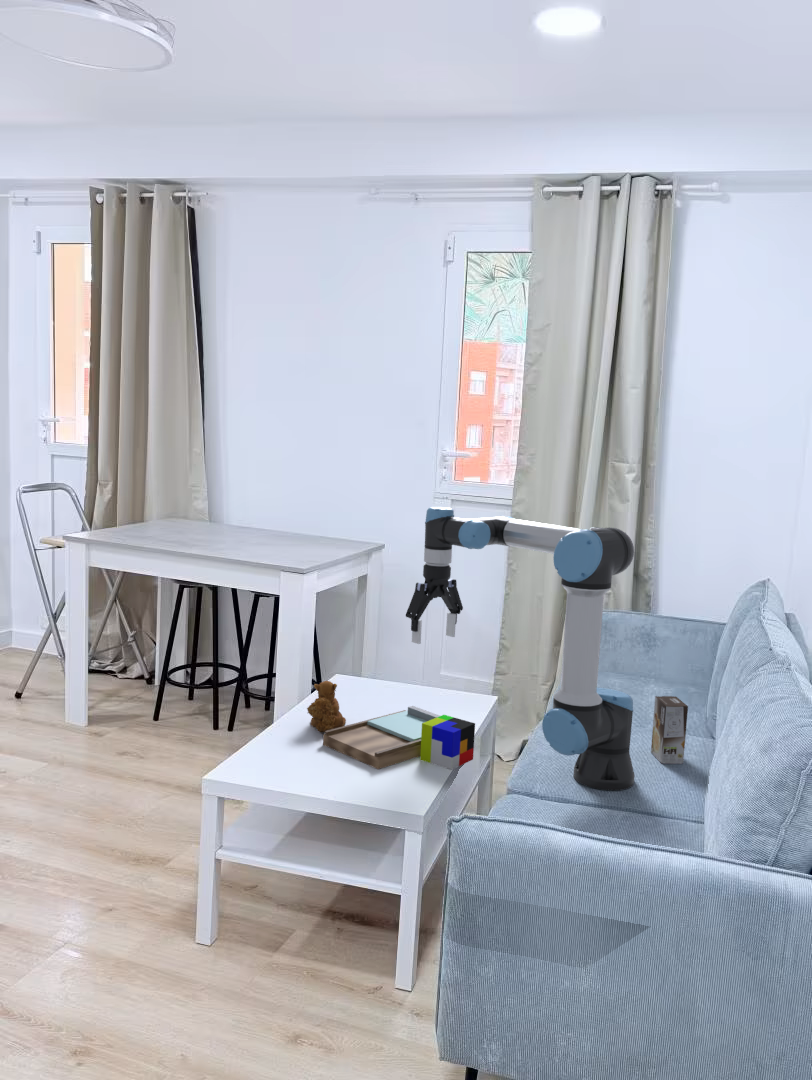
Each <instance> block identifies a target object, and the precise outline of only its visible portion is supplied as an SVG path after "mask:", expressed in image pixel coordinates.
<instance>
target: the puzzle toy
mask: <svg viewBox="0 0 812 1080" xmlns="http://www.w3.org/2000/svg"><path fill="white" fill-rule="evenodd" d="M475 729H476V723H475V722H472V721H468V720H464V719H461V718H458V717H454V716H451V715H446V714H442V715H440V716H439V717H437V718H434V719H432V720H429V721H427V722H424V723H422V733H421V754H420V756H419V757H420V759H419V760H420V761H421V762H426V763H428V764H429V763H430V764H432V765H435V766H439V767H441V768H445V769H448V770H450V771H451V770H454V769H457V768H459V767H461V766H462V765H465V764H466V763H470V762H471V761H473V760H474V751H475V734H476V733H475V732H476V730H475Z"/></svg>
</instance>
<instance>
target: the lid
mask: <svg viewBox="0 0 812 1080" xmlns="http://www.w3.org/2000/svg"><path fill="white" fill-rule="evenodd" d="M402 711H403V710H402ZM399 712H400V711H399ZM395 713H396V712H395ZM391 714H392V713H391ZM387 715H388V714H387ZM383 716H384V715H383ZM439 716H441V715H439V714H437V713H434V712H432V711H429V710H425V709H423V708H420V707H418V706H416V705H415V706H414V705H409V706H408V707H407V710H406V711H403V712H400V713H396V714H392V715H388V716H384V717H381V716H380V717H381V718H377V717H376V718H377V719H373V718H372V719H373V720H369V719H368V720H369V721H368V723H367V724H368V725H370V726H373V727H375V728H378V729H380V730H383V731H385V732H388V733H390V734H393V735H395V736H398V737H400V738H403V739H405V740H408V741H410V742H412V741H415V740H419V739H421V733H422V723H424V722H427V721H429V720H432V719H434V718H437V717H439Z"/></svg>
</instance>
